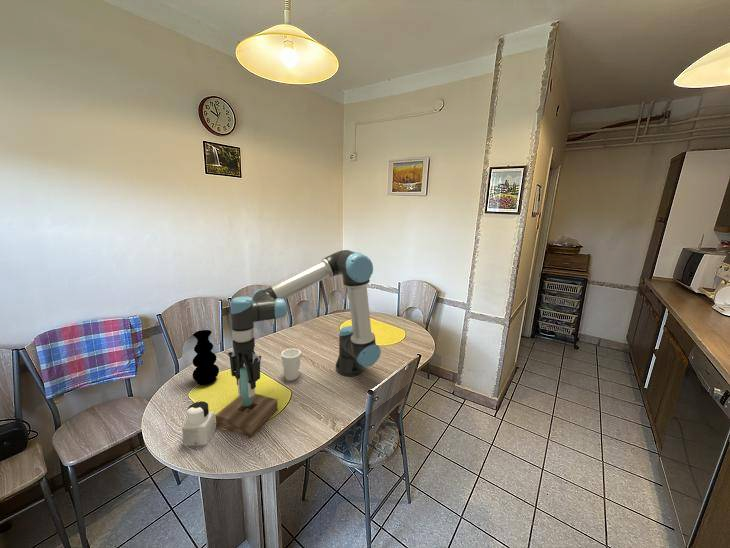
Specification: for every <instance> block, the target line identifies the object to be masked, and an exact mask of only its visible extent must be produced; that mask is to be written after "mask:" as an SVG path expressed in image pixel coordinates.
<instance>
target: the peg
mask: <svg viewBox="0 0 730 548" xmlns="http://www.w3.org/2000/svg"><path fill="white" fill-rule="evenodd" d="M248 382H249V377H248V372H247V368H246V366H245V365H244V366H243V367H241V368H240V384H241V400H242V406H249V405H251V404H252V403H253V397H251V398H249V397H248Z"/></svg>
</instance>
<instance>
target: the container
mask: <svg viewBox="0 0 730 548" xmlns="http://www.w3.org/2000/svg"><path fill="white" fill-rule="evenodd" d="M209 410H210V409H209V404H208V403H207V402H206V401H202V400H201V401H195V402H193V403H191V404H190V405H189V406H188V407H187V408H186V417H187V420H186V421H185V422H184V424H183V425H182V426H181V431H182V439H183V446H184V447H188V446H189V447H190V446H206V445H207V446H208V443H209V442H210V440H211V439H212V436H213V435H214V434H215V431H216V429H217V427H216V419H215V415H216V414H215V411H209Z"/></svg>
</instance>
